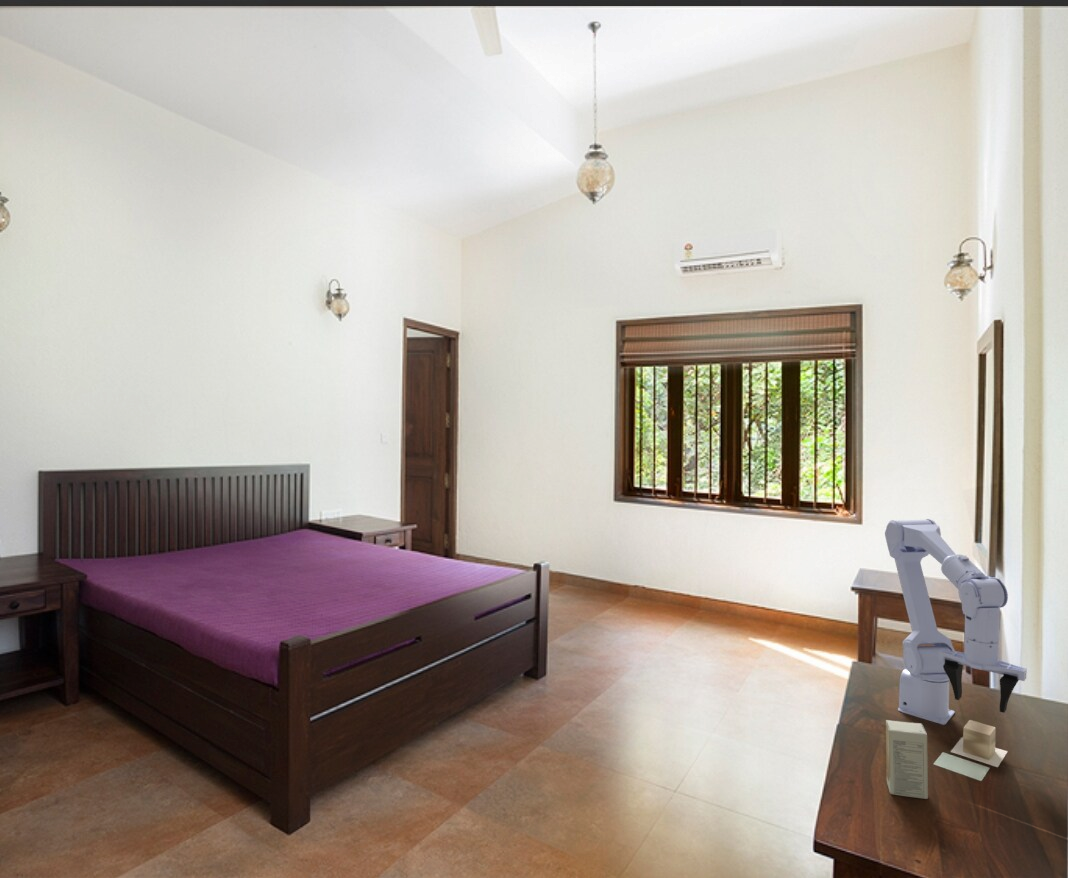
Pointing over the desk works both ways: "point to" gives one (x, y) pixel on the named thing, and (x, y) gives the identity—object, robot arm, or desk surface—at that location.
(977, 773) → the sage coaster
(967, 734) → the maple block
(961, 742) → the tile
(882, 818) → the desk surface
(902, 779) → the skincare box
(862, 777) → the desk surface
